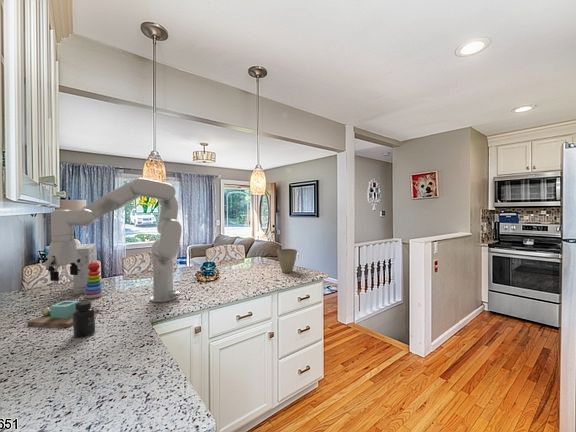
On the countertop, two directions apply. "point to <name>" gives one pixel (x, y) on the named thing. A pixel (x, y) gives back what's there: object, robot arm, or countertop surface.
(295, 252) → the plant pot
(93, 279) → the stacking toy
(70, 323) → the post base
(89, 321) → the supplement bottle
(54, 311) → the teal square scoop
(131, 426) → the countertop surface
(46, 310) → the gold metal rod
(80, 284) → the cereal box
